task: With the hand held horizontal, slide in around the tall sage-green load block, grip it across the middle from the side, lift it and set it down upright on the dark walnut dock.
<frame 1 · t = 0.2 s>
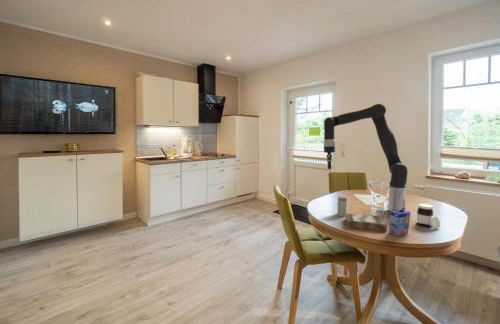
hand: (329, 168, 181), 28 cm above the table, tool pointing down, fingers open, 8 cm apart
dock: (364, 225, 148), on the table
load block: (341, 215, 165), on the table
ink cartridge box: (398, 233, 136), on the table
spread jar: (427, 226, 146), on the table
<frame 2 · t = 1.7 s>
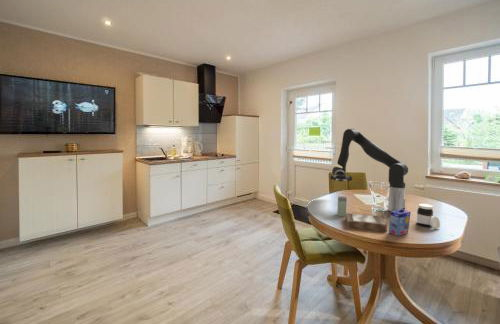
hand: (341, 179, 173), 22 cm above the table, tool horizontal, fingers open, 8 cm apart
nothing on the table moved.
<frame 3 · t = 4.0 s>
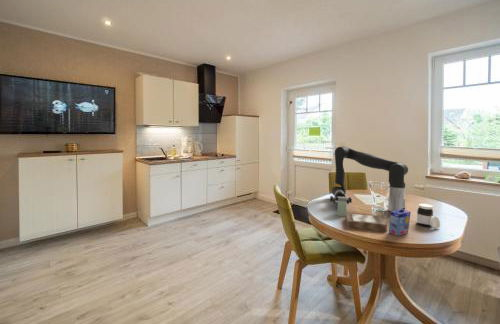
hand: (341, 202, 172), 7 cm above the table, tool horizontal, fingers open, 8 cm apart
nothing on the table moved.
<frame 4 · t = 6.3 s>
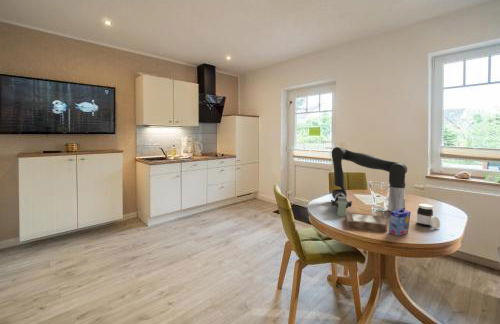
hand: (342, 206, 162), 7 cm above the table, tool horizontal, fingers closed on load block, 5 cm apart
load block: (341, 215, 165), on the table, touching gripper
everything else where it was.
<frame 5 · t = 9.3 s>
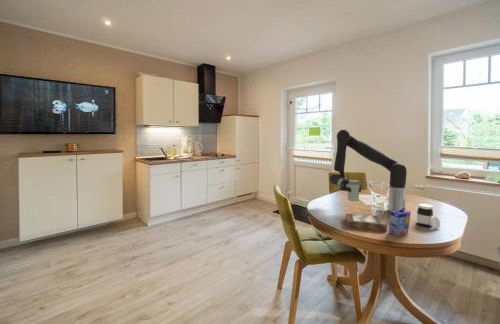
hand: (355, 190, 149), 20 cm above the table, tool horizontal, fingers closed on load block, 5 cm apart
load block: (353, 200, 153), point 13 cm above the table, touching gripper
everything else where it was.
when the fingers open (12 cm above the table, at t = 12.3 s): load block drops 1 cm, resting on dock.
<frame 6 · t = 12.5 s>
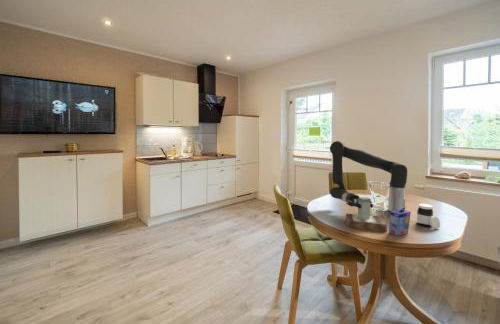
hand: (366, 206, 144), 12 cm above the table, tool horizontal, fingers open, 7 cm apart
load block: (363, 218, 147), point 4 cm above the table, touching dock
everything else where it was.
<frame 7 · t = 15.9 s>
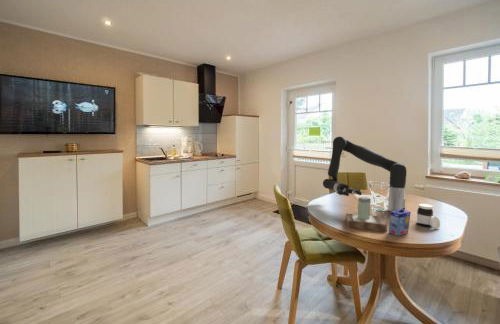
hand: (354, 194, 157), 16 cm above the table, tool horizontal, fingers open, 8 cm apart
nothing on the table moved.
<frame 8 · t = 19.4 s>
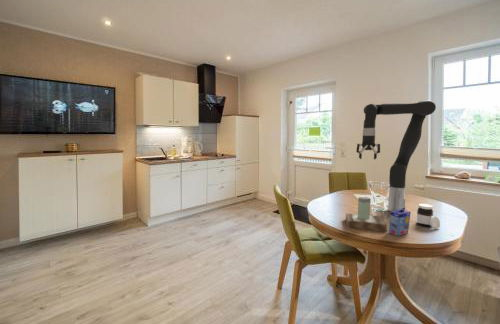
hand: (367, 159, 168), 36 cm above the table, tool pointing down, fingers open, 8 cm apart
nothing on the table moved.
at the end: load block inside the target area (0.0 cm from its centre), point 4.3 cm above the table; load block tilted 0°; the gripper is holding nothing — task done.
